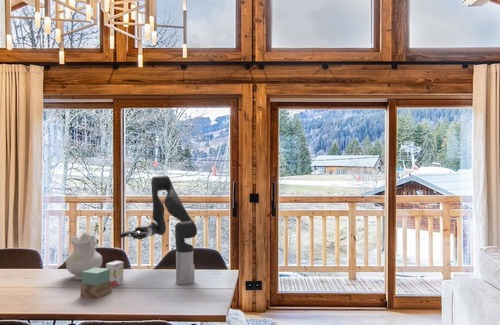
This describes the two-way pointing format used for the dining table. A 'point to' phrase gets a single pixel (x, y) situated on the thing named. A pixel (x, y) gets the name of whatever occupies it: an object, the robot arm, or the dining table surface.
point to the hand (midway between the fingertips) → (127, 236)
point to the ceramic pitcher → (83, 255)
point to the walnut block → (95, 290)
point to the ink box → (115, 272)
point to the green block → (95, 276)
